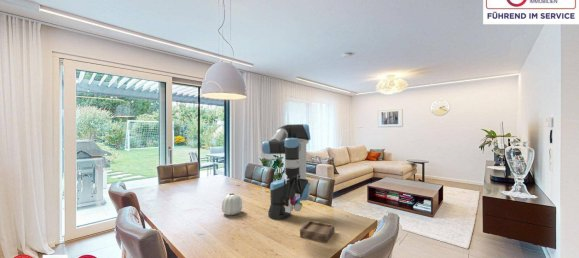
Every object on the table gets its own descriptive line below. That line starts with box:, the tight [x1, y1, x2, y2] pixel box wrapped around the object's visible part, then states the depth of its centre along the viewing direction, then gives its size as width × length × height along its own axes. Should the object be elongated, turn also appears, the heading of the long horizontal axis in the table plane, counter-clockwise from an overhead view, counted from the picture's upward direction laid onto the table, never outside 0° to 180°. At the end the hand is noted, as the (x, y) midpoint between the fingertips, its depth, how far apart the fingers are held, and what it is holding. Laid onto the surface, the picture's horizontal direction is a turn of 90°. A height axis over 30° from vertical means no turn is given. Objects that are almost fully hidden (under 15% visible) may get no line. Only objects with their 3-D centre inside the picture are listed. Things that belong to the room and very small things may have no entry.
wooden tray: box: [299, 220, 335, 243], centre depth 128 cm, size 15×13×4 cm
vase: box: [221, 192, 243, 216], centre depth 163 cm, size 14×14×13 cm
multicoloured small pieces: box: [284, 196, 303, 212], centre depth 125 cm, size 8×10×7 cm
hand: (292, 208), depth 125 cm, fingers closed on multicoloured small pieces, 10 cm apart
